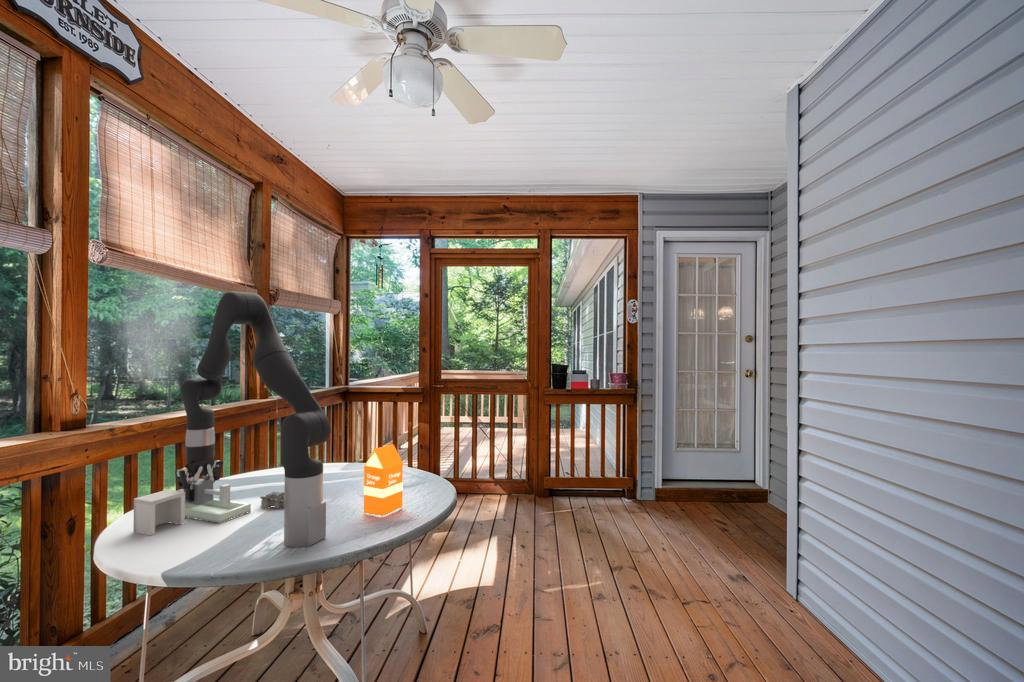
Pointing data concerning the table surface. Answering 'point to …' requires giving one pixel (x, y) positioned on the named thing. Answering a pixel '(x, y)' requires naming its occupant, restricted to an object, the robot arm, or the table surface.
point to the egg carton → (272, 500)
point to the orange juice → (383, 481)
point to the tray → (216, 510)
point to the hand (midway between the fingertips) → (199, 498)
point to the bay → (158, 510)
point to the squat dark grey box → (209, 493)
